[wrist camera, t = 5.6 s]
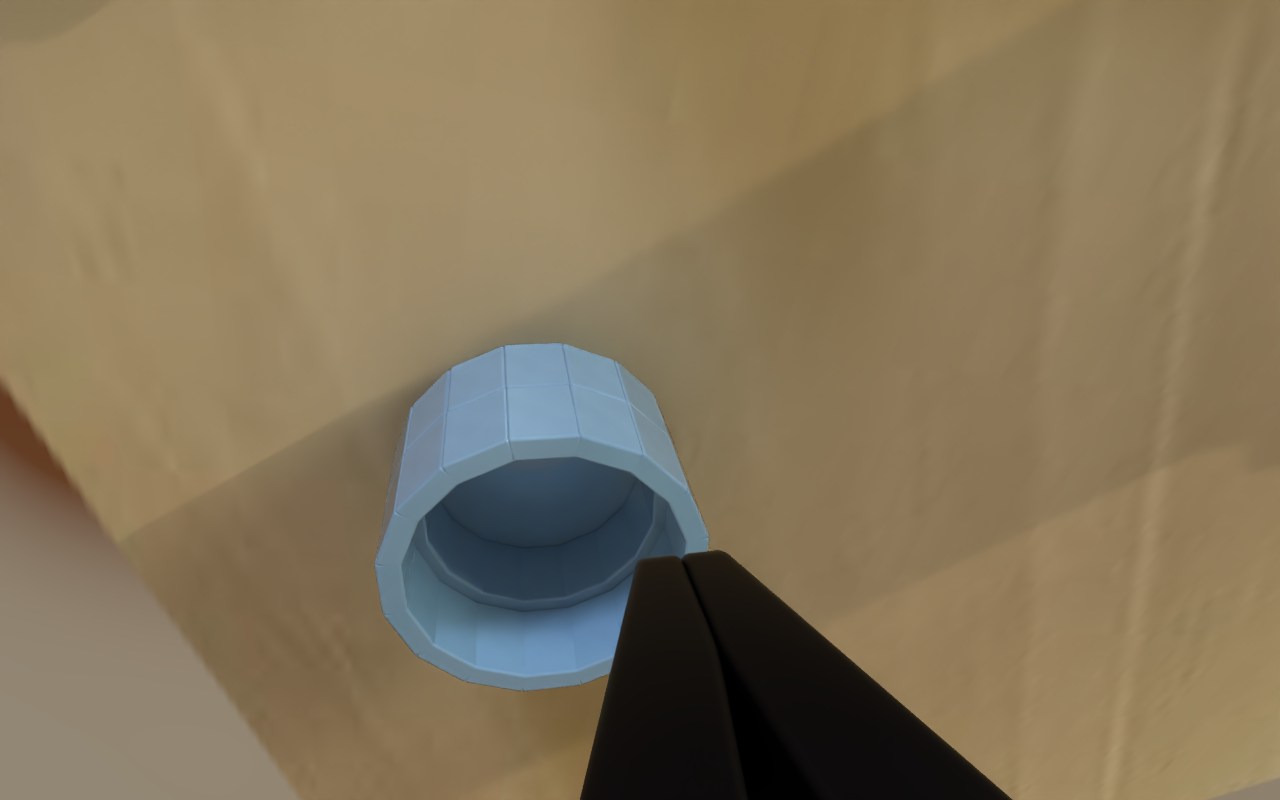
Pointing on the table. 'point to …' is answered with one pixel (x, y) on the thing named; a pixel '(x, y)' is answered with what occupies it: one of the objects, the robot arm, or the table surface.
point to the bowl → (528, 515)
